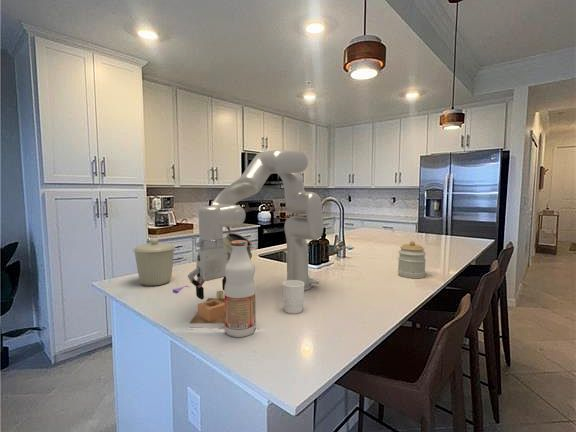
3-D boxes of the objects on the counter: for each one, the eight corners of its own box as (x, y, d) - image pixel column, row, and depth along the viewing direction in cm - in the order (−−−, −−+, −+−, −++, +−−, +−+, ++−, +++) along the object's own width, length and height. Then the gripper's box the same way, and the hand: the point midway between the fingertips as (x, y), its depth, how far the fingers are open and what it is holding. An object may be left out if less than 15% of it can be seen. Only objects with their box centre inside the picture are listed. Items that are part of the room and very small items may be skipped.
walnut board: (239, 302, 124) (239, 298, 124) (227, 327, 101) (227, 323, 101) (208, 301, 124) (208, 298, 124) (189, 327, 101) (189, 323, 101)
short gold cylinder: (224, 302, 119) (223, 290, 118) (222, 305, 116) (222, 292, 116) (217, 302, 119) (217, 290, 118) (216, 304, 116) (215, 292, 116)
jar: (431, 277, 158) (432, 242, 157) (410, 280, 153) (411, 243, 152) (411, 271, 170) (413, 238, 169) (392, 273, 165) (393, 239, 164)
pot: (206, 270, 172) (205, 223, 170) (238, 263, 186) (238, 221, 184) (226, 277, 157) (225, 227, 155) (260, 270, 171) (259, 224, 169)
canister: (140, 291, 136) (138, 242, 135) (129, 282, 150) (127, 237, 148) (182, 283, 148) (180, 238, 146) (168, 275, 162) (167, 234, 160)
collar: (227, 315, 107) (227, 304, 106) (209, 321, 102) (208, 309, 101) (216, 310, 112) (216, 298, 111) (198, 315, 107) (197, 303, 106)
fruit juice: (236, 341, 92) (234, 245, 90) (219, 330, 99) (217, 241, 97) (261, 331, 98) (261, 241, 96) (244, 321, 105) (243, 237, 103)
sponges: (189, 299, 128) (189, 294, 128) (172, 293, 136) (172, 288, 136) (203, 295, 133) (203, 290, 133) (186, 289, 141) (186, 285, 141)
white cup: (291, 304, 121) (291, 278, 120) (308, 309, 116) (308, 282, 115) (278, 310, 115) (277, 283, 114) (295, 316, 110) (295, 287, 109)
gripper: (192, 249, 96) (195, 304, 98) (239, 241, 108) (241, 290, 110) (181, 246, 101) (184, 298, 103) (227, 239, 113) (229, 285, 115)
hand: (213, 294), depth 107 cm, fingers open, 9 cm apart
